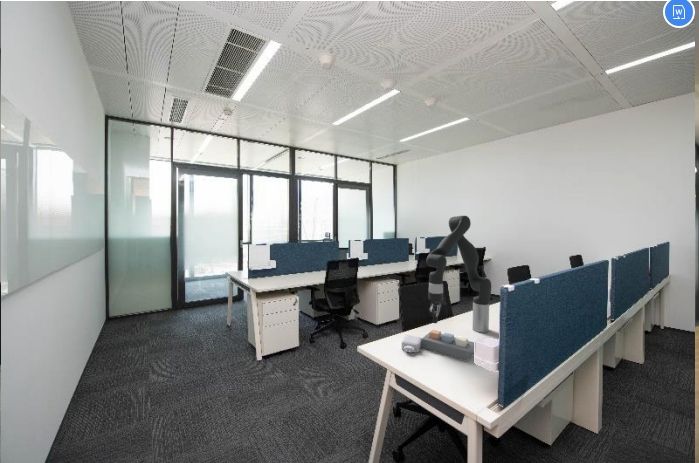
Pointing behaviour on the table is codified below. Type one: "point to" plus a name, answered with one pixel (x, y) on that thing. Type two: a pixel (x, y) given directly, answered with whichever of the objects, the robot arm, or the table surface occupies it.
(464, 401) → the table surface
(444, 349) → the keypad
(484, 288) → the robot arm
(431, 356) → the table surface
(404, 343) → the charger
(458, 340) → the key ivory
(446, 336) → the light blue cube
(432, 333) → the key terracotta
